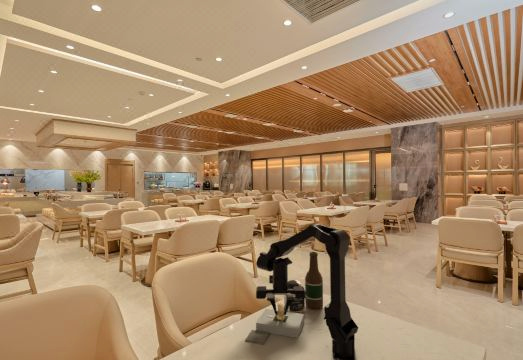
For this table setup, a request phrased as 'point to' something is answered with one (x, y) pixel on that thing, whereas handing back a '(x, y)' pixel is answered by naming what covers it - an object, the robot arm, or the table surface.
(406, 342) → the table surface
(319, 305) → the beer bottle
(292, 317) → the grey socket block
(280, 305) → the t key
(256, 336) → the pad
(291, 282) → the medicine bottle
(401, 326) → the table surface
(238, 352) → the table surface
